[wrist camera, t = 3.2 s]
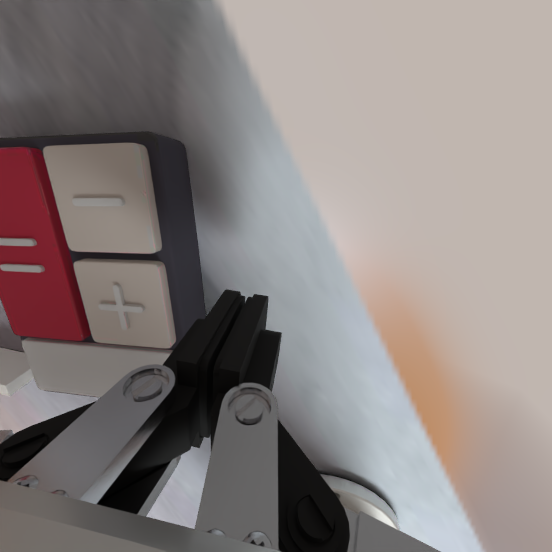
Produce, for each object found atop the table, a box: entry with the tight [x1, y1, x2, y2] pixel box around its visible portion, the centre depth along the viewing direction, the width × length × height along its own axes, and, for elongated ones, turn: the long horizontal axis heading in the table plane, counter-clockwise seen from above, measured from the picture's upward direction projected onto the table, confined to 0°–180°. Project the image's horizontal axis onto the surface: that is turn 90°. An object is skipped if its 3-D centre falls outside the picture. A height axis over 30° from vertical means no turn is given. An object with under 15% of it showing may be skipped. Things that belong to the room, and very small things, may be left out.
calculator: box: [0, 132, 206, 398], centre depth 16 cm, size 11×4×15 cm
